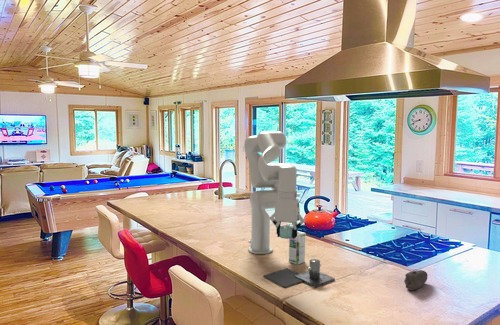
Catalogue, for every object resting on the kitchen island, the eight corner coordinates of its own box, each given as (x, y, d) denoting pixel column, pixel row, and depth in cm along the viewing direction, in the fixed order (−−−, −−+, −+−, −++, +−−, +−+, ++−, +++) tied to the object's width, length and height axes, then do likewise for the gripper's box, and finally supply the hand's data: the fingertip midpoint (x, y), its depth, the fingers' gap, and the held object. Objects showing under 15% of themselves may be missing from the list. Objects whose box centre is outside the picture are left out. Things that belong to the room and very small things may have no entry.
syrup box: (288, 261, 178) (288, 232, 177) (295, 258, 183) (296, 230, 181) (297, 265, 174) (298, 235, 173) (305, 261, 179) (305, 232, 177)
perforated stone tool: (420, 280, 158) (421, 264, 157) (432, 284, 154) (433, 268, 153) (400, 289, 149) (400, 272, 149) (412, 294, 145) (413, 277, 144)
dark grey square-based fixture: (294, 277, 160) (294, 259, 159) (313, 271, 167) (314, 254, 166) (315, 287, 150) (315, 268, 149) (334, 280, 157) (335, 262, 157)
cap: (282, 234, 161) (282, 223, 161) (295, 235, 159) (295, 224, 159) (277, 237, 156) (277, 226, 156) (291, 239, 154) (291, 228, 153)
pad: (263, 276, 161) (263, 275, 161) (287, 269, 169) (287, 268, 169) (284, 288, 150) (284, 286, 150) (309, 279, 158) (309, 278, 158)
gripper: (309, 195, 156) (308, 237, 158) (270, 192, 163) (270, 232, 164) (305, 198, 149) (304, 242, 151) (264, 195, 156) (264, 237, 158)
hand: (286, 236), depth 158 cm, fingers closed on cap, 6 cm apart
